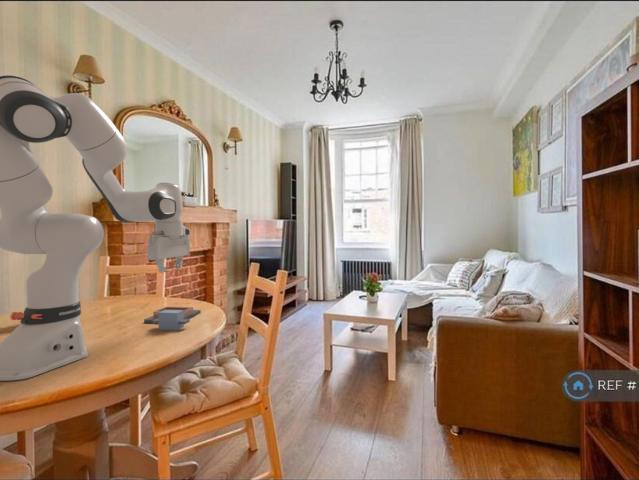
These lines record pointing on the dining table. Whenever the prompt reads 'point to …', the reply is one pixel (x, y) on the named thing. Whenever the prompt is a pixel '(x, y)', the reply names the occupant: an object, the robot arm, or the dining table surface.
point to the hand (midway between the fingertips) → (170, 270)
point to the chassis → (187, 310)
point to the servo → (171, 319)
